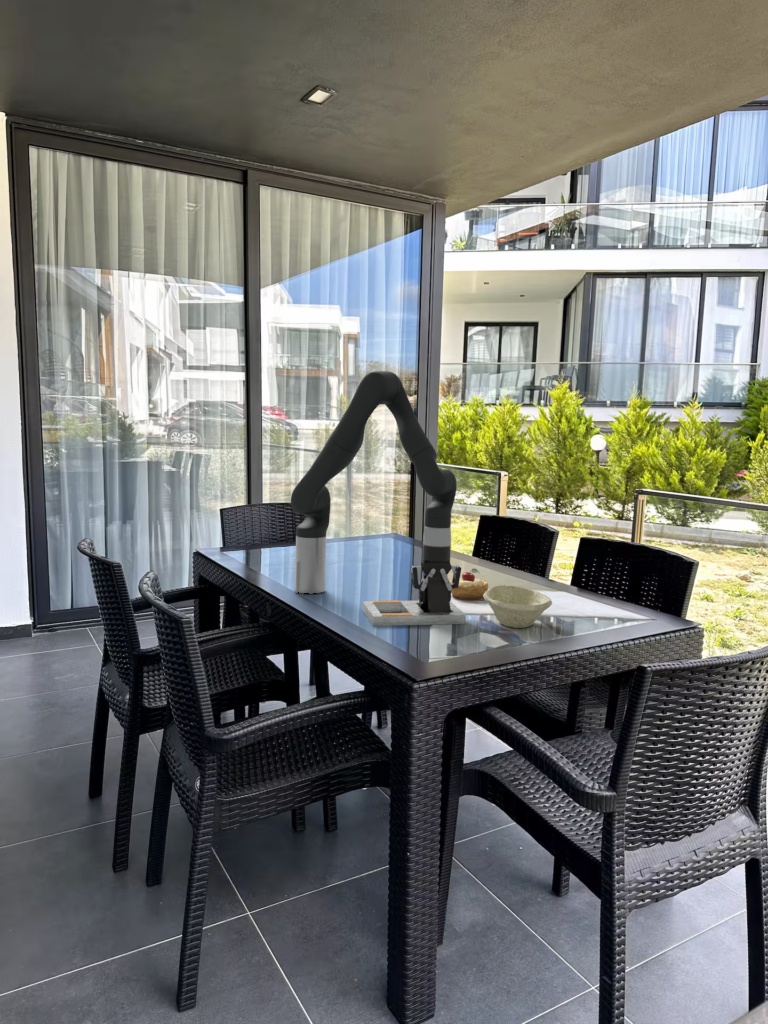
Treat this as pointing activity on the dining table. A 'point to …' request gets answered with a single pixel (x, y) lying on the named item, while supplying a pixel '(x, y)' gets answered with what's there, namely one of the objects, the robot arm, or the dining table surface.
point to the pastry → (470, 587)
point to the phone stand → (436, 596)
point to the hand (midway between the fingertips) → (434, 603)
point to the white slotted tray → (408, 614)
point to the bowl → (516, 605)
